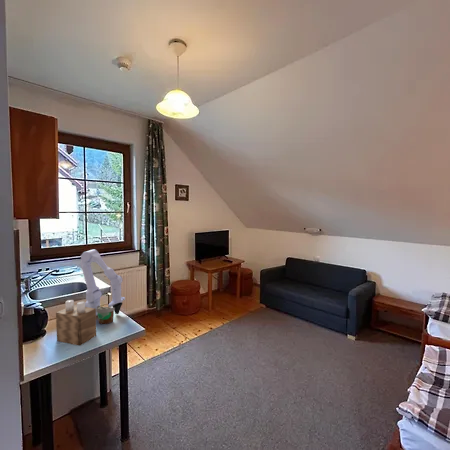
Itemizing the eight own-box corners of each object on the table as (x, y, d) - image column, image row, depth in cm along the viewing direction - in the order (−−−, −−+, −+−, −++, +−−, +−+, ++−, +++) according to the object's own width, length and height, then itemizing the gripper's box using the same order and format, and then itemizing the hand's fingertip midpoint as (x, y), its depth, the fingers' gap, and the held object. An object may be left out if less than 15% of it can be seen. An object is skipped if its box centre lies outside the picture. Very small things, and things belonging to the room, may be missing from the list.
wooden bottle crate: (56, 340, 148) (55, 312, 146) (74, 331, 159) (73, 304, 157) (80, 345, 143) (79, 316, 142) (96, 335, 154) (95, 308, 153)
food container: (91, 323, 169) (91, 308, 168) (98, 319, 175) (98, 304, 174) (108, 326, 166) (108, 310, 165) (115, 322, 172) (114, 307, 171)
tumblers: (64, 310, 149) (63, 302, 149) (70, 308, 153) (69, 299, 152) (81, 313, 145) (80, 304, 145) (86, 310, 149) (86, 302, 149)
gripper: (114, 298, 173) (114, 318, 174) (128, 291, 187) (128, 310, 188) (105, 297, 175) (105, 317, 176) (120, 290, 189) (120, 309, 190)
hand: (117, 313), depth 183 cm, fingers closed
